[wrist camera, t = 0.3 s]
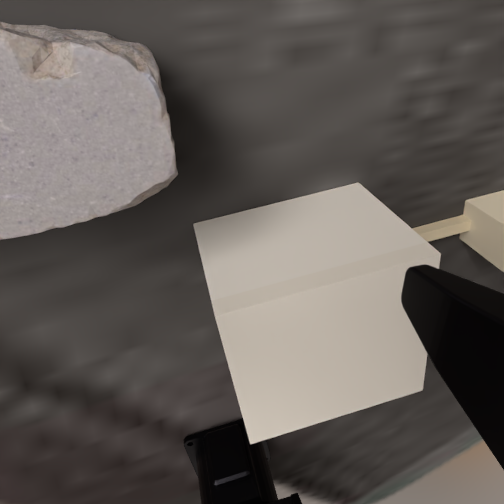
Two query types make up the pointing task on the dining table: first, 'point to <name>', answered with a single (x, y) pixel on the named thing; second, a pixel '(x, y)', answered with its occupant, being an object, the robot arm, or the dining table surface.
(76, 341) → the dining table surface
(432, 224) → the cream and brown mallet
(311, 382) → the white open box
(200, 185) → the dining table surface
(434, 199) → the dining table surface
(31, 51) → the decorative stone
